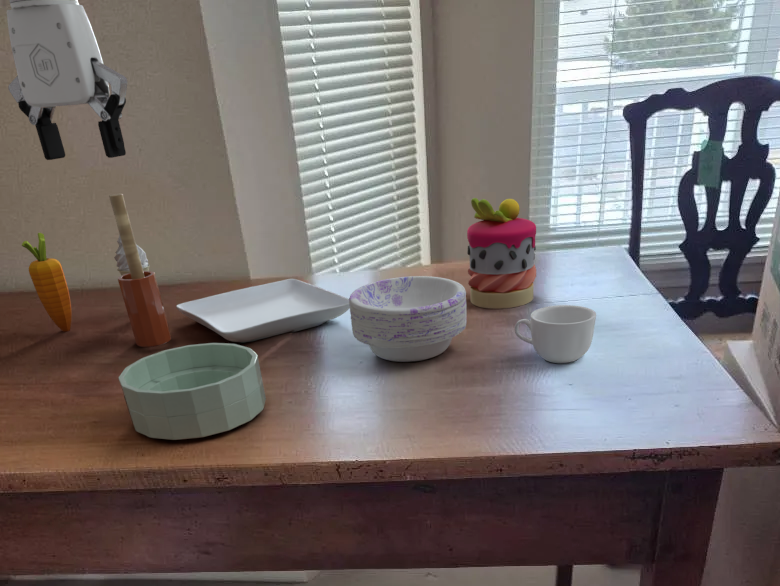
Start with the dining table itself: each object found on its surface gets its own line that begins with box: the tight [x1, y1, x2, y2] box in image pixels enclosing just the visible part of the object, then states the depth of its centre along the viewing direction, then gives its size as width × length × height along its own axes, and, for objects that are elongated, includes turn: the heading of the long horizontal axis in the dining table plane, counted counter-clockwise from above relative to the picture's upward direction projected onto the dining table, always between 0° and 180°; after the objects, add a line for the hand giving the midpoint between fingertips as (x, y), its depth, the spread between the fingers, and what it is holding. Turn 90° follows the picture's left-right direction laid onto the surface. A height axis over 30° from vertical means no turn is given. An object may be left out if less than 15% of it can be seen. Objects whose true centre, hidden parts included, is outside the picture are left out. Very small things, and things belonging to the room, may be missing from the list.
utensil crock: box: [117, 270, 172, 348], centre depth 106 cm, size 5×5×10 cm
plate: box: [175, 278, 350, 343], centre depth 113 cm, size 21×21×3 cm
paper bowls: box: [348, 275, 468, 363], centre depth 96 cm, size 15×15×8 cm
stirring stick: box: [108, 193, 145, 279], centre depth 104 cm, size 2×2×20 cm
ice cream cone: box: [114, 233, 151, 276], centre depth 117 cm, size 5×5×15 cm
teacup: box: [514, 304, 597, 364], centre depth 91 cm, size 10×8×5 cm
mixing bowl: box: [117, 342, 267, 441], centre depth 84 cm, size 15×15×6 cm
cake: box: [466, 197, 537, 310], centre depth 111 cm, size 10×11×15 cm
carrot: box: [21, 232, 73, 332], centre depth 113 cm, size 5×5×15 cm
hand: (85, 157), depth 94 cm, fingers open, 9 cm apart
